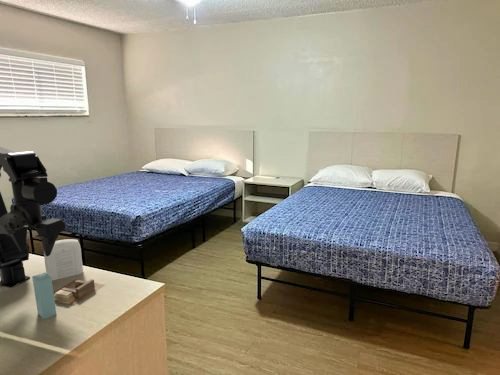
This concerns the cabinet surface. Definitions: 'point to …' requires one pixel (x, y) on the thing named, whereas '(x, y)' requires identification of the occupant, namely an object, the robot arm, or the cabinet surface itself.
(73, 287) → the rack
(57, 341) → the cabinet surface
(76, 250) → the photo printer
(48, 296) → the teal rectangular block
